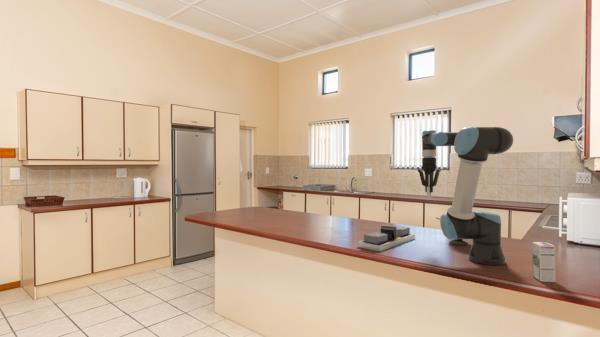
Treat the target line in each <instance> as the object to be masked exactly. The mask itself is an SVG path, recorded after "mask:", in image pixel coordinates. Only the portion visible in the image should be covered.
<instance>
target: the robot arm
mask: <svg viewBox="0 0 600 337" xmlns="http://www.w3.org/2000/svg"><path fill="white" fill-rule="evenodd" d="M421 135H422V136H421V146H422V149H421V150H422V151H421V157H422V158H421V162H422V164H421V168H418V169H417V172H418V173H419V178H420V182H421V185H422V186H424V188H425V189H424V190H425V193H426V198H427V199H432V193H433V192H434V187H436V186H437V183H438V180H439V175H440V173H441V171H442V169H439V168H438V166H437V158H436V157H437V147H453V149H454V152H455V153H456V154H457V157H458V159H459V160H460V162H459V168H458V173H457V178H456V182H455V187H454V192H453V198H452V204H451V206H450V207H448V208H447V210H446V213H444V214H442V215H441V216H440V218H439V219H440V228H441V231H442V232H441V233H442V234H443V235H444V237H445V238H446V239H448V240H457V239H463V240H472V245H471V247H470V249H469V252H468V261H469V260H470V261H471V262H473V263H476V264H479V265H480V264H482V265H487V266H502V265H505V264H506V257H505V254H504V252H503V249H502V246H501V245H502V236H501V235H502V230H501V229H502V220H501V216H500V215H499V214H497V213H492V212H487V211H481V210H480V211H479V210H473V208H474V203H475V198H476V193H477V190H478V189H477V188H478V184H479V180H480V176H481V171H482V166H483V163H485V162H487V160H488V158H489V155H498V154H499V155H500V154H503V153H505V152H507V151H508V150H510V149H511V147H512V146H513V143H514V137H513V134H512V133H511V131H509V129H507V128H504V127H499V126H494V127H493V126H491V127H489V126H469V127H464V128H461V129H460V130H459V131H458V132H456V131H455V132H453V131H452V132H450V131H449V132H448V131H447V132H445V131H444V132H443V131H436V130H433V129H430V130H429V129H426V130H423V131H422V134H421ZM434 172H435V173H434Z"/></svg>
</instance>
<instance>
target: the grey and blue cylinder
mask: <svg viewBox="0 0 600 337" xmlns="http://www.w3.org/2000/svg"><path fill="white" fill-rule="evenodd" d="M448 243H449V244H451V245H454V246H456V245H457V246H466V245H469V243H468V241H466V240H464V239H457V240H455V239H451V240H450V241H448Z"/></svg>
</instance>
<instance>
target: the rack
mask: <svg viewBox="0 0 600 337" xmlns="http://www.w3.org/2000/svg"><path fill="white" fill-rule="evenodd" d="M395 226H396V227H397V236H398V238H396V239H394V241H389V240H388V234H384V233H381V232H377V231H372V232H369V233H365V234H363V239H362V240H359V241H358V242H357V247H358V248H361V249H365V250H370V251H375V252H383V251H386V250H388V249H392V248H395V247H397V246H399V245H402V244H405V243H407V242H410V241H413V240H415V239H416V234H415V233H411V230H410V228H411V227H409V226H401V225H395Z"/></svg>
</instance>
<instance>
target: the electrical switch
mask: <svg viewBox="0 0 600 337" xmlns="http://www.w3.org/2000/svg"><path fill="white" fill-rule="evenodd" d="M396 226H397V225H388V224H380V233H384V234H388V240H389V241H394V239H396V238H398V236H397V227H396Z"/></svg>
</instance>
